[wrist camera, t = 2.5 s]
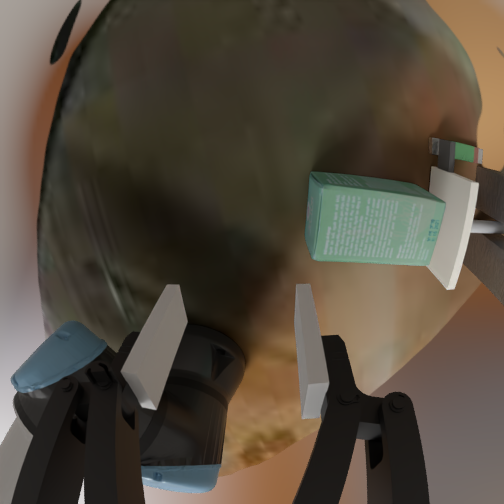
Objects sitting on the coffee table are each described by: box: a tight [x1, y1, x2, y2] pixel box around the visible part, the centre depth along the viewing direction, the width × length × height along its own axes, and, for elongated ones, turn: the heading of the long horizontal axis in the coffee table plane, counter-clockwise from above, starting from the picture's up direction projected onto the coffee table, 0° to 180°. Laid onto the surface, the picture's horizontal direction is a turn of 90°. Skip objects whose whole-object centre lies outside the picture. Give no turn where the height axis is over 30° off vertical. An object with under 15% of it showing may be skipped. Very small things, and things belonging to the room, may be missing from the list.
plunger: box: [427, 139, 504, 290], centre depth 24 cm, size 13×16×8 cm
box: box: [305, 172, 446, 266], centre depth 26 cm, size 7×14×8 cm, turn 89°
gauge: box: [428, 137, 504, 305], centre depth 22 cm, size 14×16×12 cm
